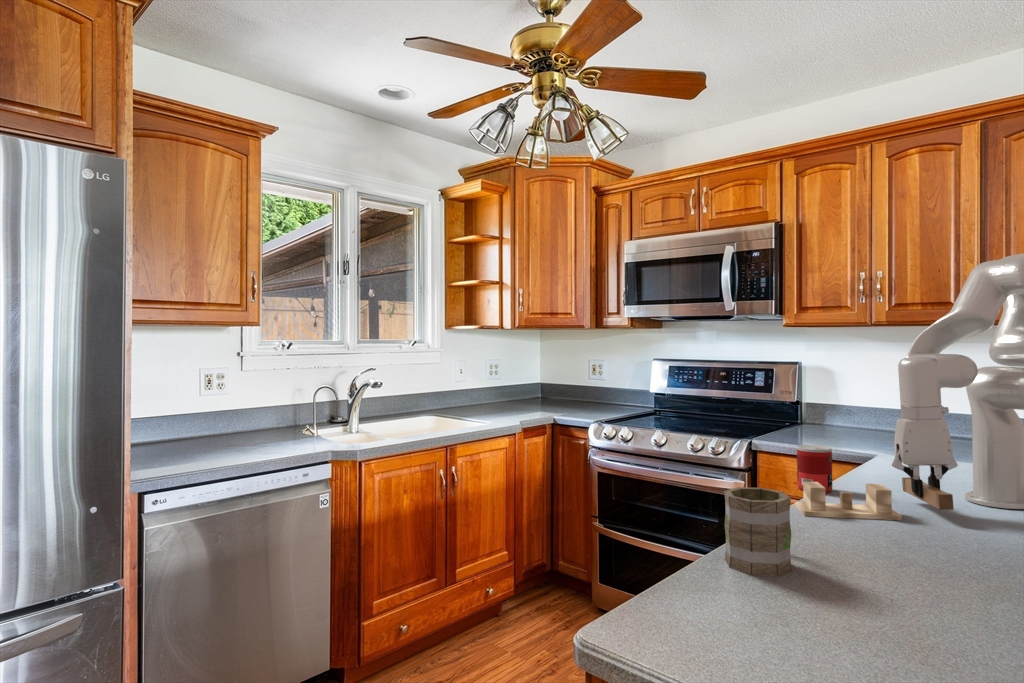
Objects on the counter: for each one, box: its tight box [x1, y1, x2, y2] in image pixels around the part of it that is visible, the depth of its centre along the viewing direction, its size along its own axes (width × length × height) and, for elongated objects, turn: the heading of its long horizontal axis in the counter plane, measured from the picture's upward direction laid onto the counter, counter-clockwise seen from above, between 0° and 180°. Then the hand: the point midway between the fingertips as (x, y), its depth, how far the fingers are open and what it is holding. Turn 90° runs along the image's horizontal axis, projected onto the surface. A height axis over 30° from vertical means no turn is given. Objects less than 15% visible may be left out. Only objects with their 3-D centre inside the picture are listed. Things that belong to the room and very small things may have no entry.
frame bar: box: [901, 476, 955, 511], centre depth 133 cm, size 18×3×3 cm, turn 168°
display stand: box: [794, 482, 903, 521], centre depth 133 cm, size 19×8×6 cm, turn 78°
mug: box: [723, 486, 793, 577], centre depth 105 cm, size 16×11×12 cm
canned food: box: [796, 444, 833, 495], centre depth 154 cm, size 8×8×11 cm
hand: (926, 495), depth 133 cm, fingers closed on frame bar, 2 cm apart
